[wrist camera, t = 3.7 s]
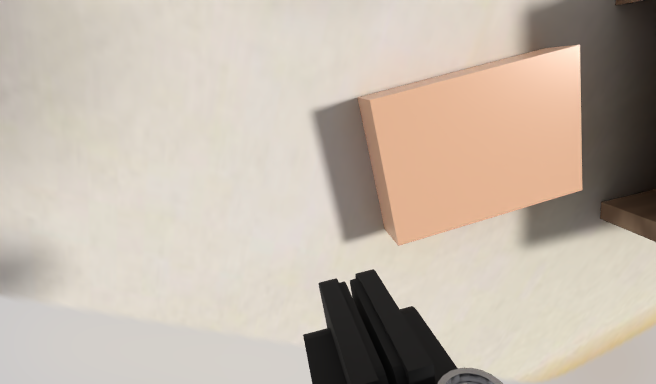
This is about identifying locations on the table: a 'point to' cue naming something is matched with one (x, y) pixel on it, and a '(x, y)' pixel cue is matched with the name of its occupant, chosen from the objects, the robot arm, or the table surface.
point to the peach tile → (475, 142)
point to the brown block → (632, 204)
